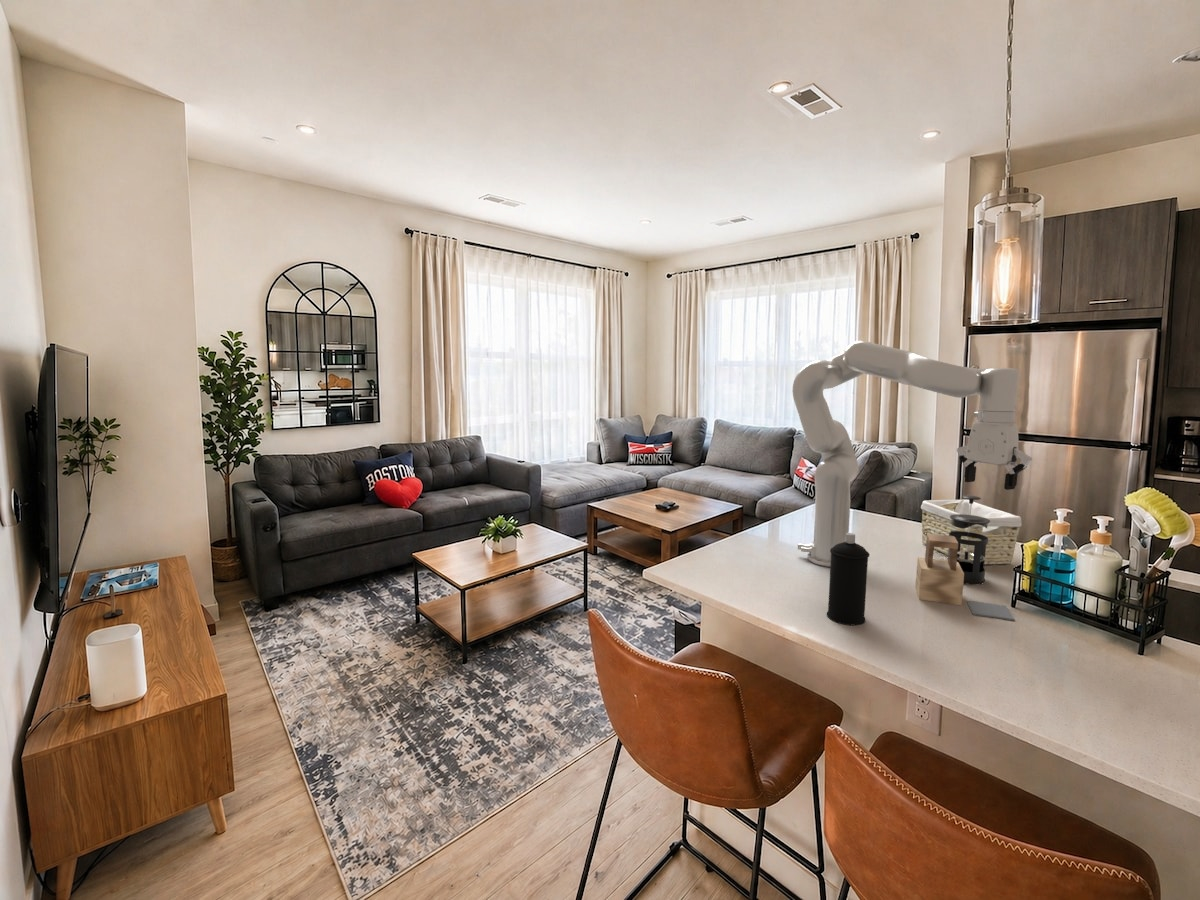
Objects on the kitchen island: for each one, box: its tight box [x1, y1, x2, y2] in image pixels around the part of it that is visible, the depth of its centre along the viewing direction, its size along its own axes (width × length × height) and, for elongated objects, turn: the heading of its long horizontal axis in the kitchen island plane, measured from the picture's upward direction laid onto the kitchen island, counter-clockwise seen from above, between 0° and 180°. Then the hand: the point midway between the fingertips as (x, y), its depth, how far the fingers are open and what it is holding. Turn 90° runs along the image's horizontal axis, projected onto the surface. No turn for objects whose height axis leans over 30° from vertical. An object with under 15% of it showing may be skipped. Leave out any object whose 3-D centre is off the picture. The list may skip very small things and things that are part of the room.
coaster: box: [966, 599, 1016, 622], centre depth 131 cm, size 8×8×1 cm
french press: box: [948, 495, 990, 585], centre depth 150 cm, size 12×9×23 cm
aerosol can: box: [826, 532, 870, 626], centre depth 127 cm, size 8×8×20 cm
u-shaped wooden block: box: [924, 534, 958, 571], centre depth 138 cm, size 6×6×7 cm
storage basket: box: [920, 498, 1023, 566], centre depth 171 cm, size 24×16×15 cm
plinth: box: [915, 556, 964, 606], centre depth 140 cm, size 9×9×8 cm
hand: (988, 485), depth 140 cm, fingers open, 9 cm apart
